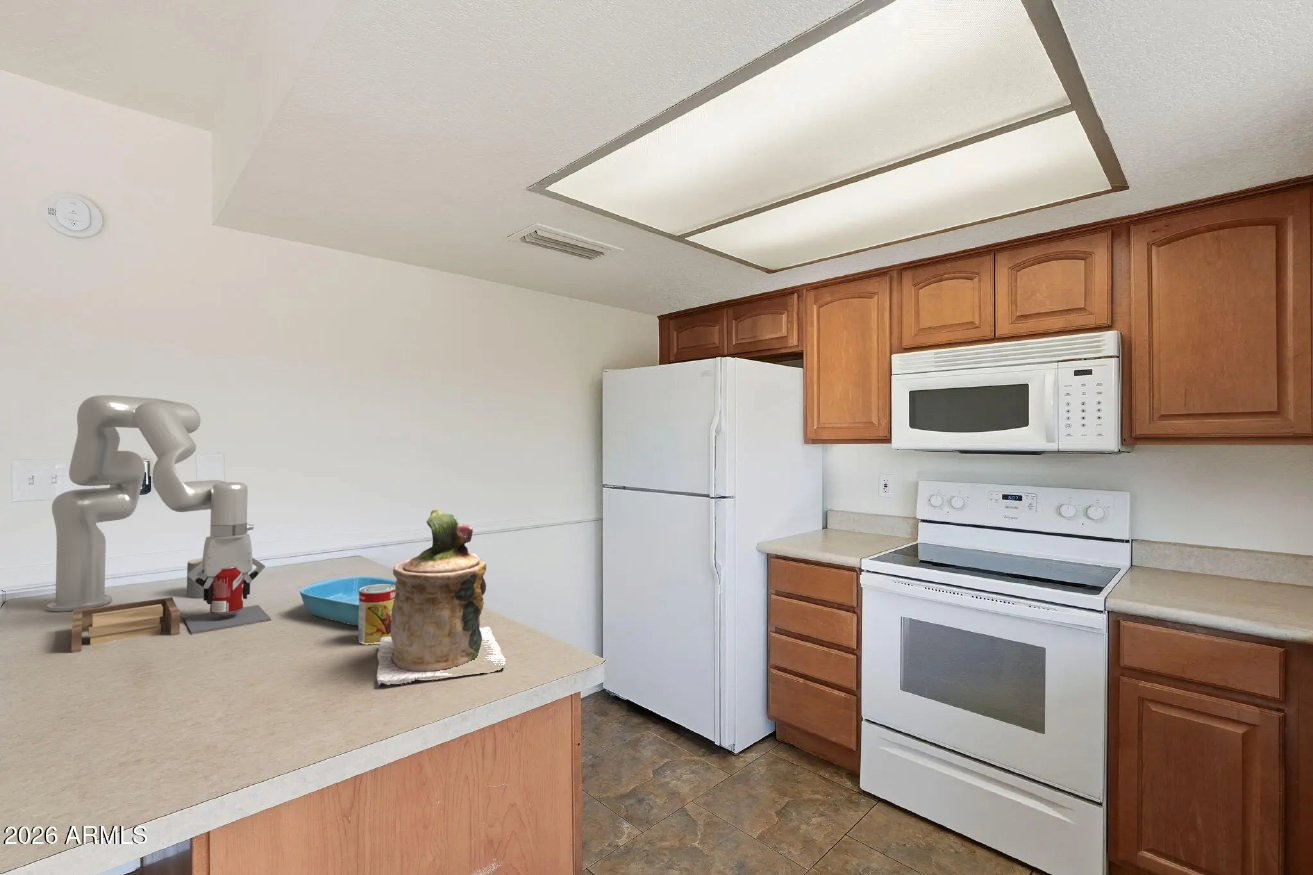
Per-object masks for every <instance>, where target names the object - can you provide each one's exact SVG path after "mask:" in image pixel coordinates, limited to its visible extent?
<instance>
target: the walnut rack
mask: <svg viewBox="0 0 1313 875" xmlns="http://www.w3.org/2000/svg"><path fill="white" fill-rule="evenodd" d="M159 604H161V605H162V607H163V616H161V617H160V620H164V621H165V623H166V626H167V629H168V631H169V633H170V636H177V635H180V630H181V629H180V628H181V627H180V626H181V625H180V624H181V616H180V615H181V612H180V610H179V609H178V607H177V604H176V602H175V600H174V598H173V597H172V596H171V597H165V598H157V599H149V600H143V601H135V602H128V603H119V604H113V605H103V606H98V607H93V608H88V609H82V610H74V611H73V614H72V623H71V649H70V650H71V653H77V652H81V651H82V645H83V644H82V642H83V639H82V638H83V637H82V636H83V633H84V632H83V631H85V632H88V624H91V623H92V614H97V613H104V612H111V611H118V610H125V609H132V608H138V607H145V606H152V605H159Z"/></svg>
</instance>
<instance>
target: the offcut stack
mask: <svg viewBox="0 0 1313 875" xmlns="http://www.w3.org/2000/svg"><path fill="white" fill-rule="evenodd" d="M161 616H163V607H162V605H161V604H159V605H152V606H145V607H138V608H132V609H125V610H118V611H111V612H104V613H97V614H92V623H91V624H88V631H87V633H88V636H87V637H88V638H89V644H93V645H98V644H103V643H102V642H104V643H109V642H114V641H113V640H116V641H120V639H122V640H125V639H124V638H128V639H133V638H132V637H134V638H138V637H137V636H139V637H145V636H150V635H157V634H161V633H162V623H161V622H160V617H161Z"/></svg>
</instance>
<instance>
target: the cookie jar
mask: <svg viewBox="0 0 1313 875" xmlns="http://www.w3.org/2000/svg"><path fill="white" fill-rule="evenodd" d="M431 510H432V511H431V512H430V516H429V517H428V519H427V520H426V524H427V526H428V527H429V528H430V530H431V535H432V545H431V547H429V548H427V549H424V550H423V551H422V552H421V553H420V554H418V555H417V556H414V557H412V558H409V559H406V560H404V561H399V562H397V563H395V565H394V566H393V568H392V572H393V573H392V575H393V577H395V580H396V585H395V592H396V594H395V598H394V604H393V607H392V615H391V617H392V621H391V636H389V637H383V638H381V641H380V644H379V645H378V648H377V650H378V651H377V657H376V658H377V660H378V666H377V671H376V672H377V673H376V675H375V676H376V677H375V678H376V681H377V684H378V686H379V685H380V686H381V684H385V685H388V686H391V685H390V684H397V683H405V684H407V683H406V682H409V683H412V682H411V681H414V682H419V681H418V680H421V679H431V678H440V677H445V676H451V675H452V674H448V673H440V672H443V671H440V670H447V669H451V668H453V667H458V666H460V665H463V664H465V663H468V662H469V661H472V660H475V658H477V656H478V653H479V650H480V647H481V643H482V642H488V643H482V644H484V645H485V644H486V645H488V646H484V647H491V648H486V649H493V650H487V651H493V652H489V653H493V655H487V656H489V657H485V658H489V659H487V660H491V661H496V662H493V663H503V664H501V665H504V664H505V663H506V664H507V659H506V657H504V654H503V653H502V649H501V646H500V645H499V644H498V642H497V641H495V640H496V638H495V636H494V635H493V631H492V629H491V627H489V626H483V627H481V617H480V616H481V614H482V611H483V609H484V605H485V602H484V594H485V593H486V591H487V584H486V583H487V582H486V580H485V578H484V576H485V573H486V571H487V563H486V561H482V560H481V558H480V556H478V555H477V553H471V552H470V551H469V550H468V547H467V546H466V545H465V544H467V543H470V542H471V541H472V537H473V532H474V531H473V527H472V526H471V525H468V524H464V523H463V524H461V523H458V519H457V517H456V516H455V515H454V514H450V513H444V512H442V511H441V510H439V509H437V508H434V509H431ZM482 640H485V641H482ZM486 640H489V641H486ZM486 653H488V652H486ZM486 653H485V654H486ZM494 654H496V655H494ZM490 656H491V657H490ZM490 658H491V659H490ZM484 660H485V659H484ZM497 661H500V662H497ZM502 661H503V662H502ZM505 661H506V662H505ZM506 664H505V665H506ZM495 665H496V664H495ZM499 665H500V664H499Z"/></svg>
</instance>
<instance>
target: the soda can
mask: <svg viewBox="0 0 1313 875" xmlns="http://www.w3.org/2000/svg"><path fill="white" fill-rule="evenodd" d="M221 569H222V570H221V571H220V572H219V573H218V574H217V575H216V576H215V577H213V582H212V583H211V588H212V603H211V604H209V606H210V607H209V613H212V614H215V615H218V616H223V615H230V614H234V613H237V612H238V611H240V610H242V609H243V607H244V599H243V585H244V577H243V573H242V572H241V571H239V570H238V569H237V567H231V568H221Z"/></svg>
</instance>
